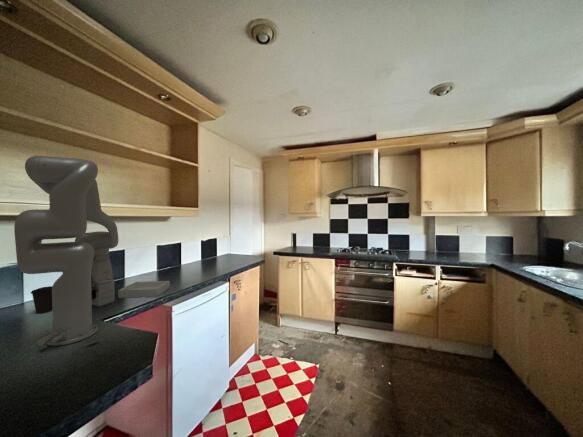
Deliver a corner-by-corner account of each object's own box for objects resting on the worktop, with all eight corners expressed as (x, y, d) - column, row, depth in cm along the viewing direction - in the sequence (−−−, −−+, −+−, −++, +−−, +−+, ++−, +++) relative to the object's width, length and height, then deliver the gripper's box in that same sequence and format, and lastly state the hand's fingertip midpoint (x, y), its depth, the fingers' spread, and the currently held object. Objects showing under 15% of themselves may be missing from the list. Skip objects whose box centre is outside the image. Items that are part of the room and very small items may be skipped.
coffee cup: (25, 316, 91) (24, 291, 91) (39, 308, 99) (39, 285, 99) (51, 313, 94) (50, 289, 94) (63, 306, 102) (63, 283, 102)
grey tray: (156, 297, 112) (156, 289, 112) (118, 298, 111) (118, 290, 111) (169, 288, 126) (169, 280, 126) (136, 288, 125) (136, 281, 125)
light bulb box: (84, 303, 104) (83, 280, 104) (100, 298, 111) (100, 276, 111) (99, 306, 101) (98, 282, 101) (115, 301, 107) (115, 278, 107)
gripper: (92, 262, 97) (93, 302, 97) (120, 254, 114) (120, 288, 115) (73, 262, 97) (74, 302, 97) (104, 254, 114) (105, 289, 114)
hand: (99, 295), depth 106 cm, fingers closed on light bulb box, 8 cm apart
